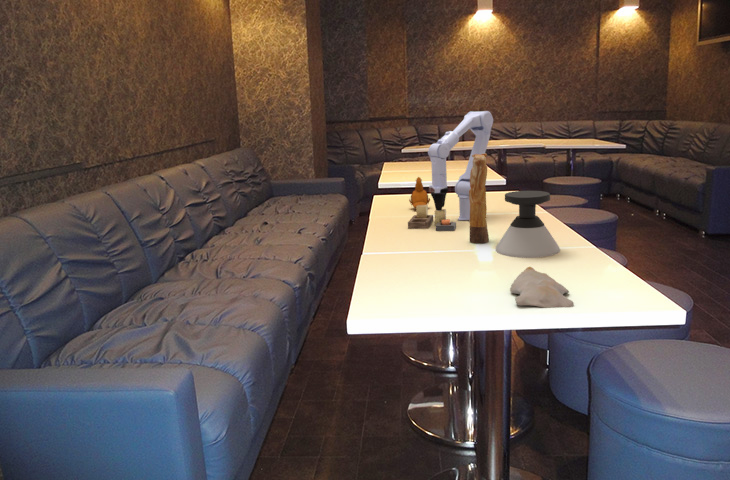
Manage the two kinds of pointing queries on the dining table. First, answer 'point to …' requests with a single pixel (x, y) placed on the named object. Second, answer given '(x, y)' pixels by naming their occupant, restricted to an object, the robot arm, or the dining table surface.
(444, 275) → the dining table surface
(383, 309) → the dining table surface
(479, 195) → the sculpture
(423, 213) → the block
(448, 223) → the button
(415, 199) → the toy
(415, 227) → the brown compartment tray
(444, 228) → the button housing
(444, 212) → the block
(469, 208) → the robot arm
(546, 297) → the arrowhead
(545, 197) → the light fixture
